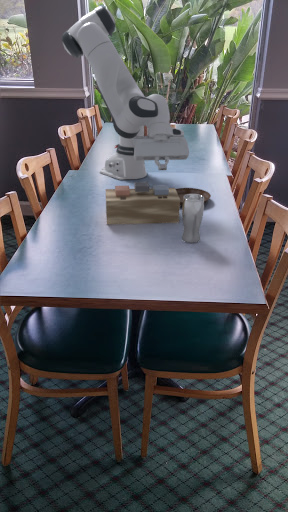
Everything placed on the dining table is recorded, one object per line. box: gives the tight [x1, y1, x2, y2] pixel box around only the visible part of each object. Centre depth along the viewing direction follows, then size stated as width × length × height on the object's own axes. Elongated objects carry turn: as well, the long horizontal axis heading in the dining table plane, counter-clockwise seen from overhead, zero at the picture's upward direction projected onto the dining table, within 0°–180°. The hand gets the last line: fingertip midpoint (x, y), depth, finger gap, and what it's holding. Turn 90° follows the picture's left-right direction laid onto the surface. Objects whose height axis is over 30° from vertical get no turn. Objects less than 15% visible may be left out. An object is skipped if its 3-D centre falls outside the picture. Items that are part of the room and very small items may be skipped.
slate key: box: [152, 184, 169, 195], centre depth 166 cm, size 5×5×2 cm
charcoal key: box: [133, 181, 150, 192], centre depth 165 cm, size 5×5×2 cm
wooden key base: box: [105, 187, 181, 226], centre depth 167 cm, size 12×26×9 cm, turn 95°
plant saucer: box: [175, 187, 212, 207], centre depth 184 cm, size 18×18×3 cm
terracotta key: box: [114, 185, 131, 196], centre depth 165 cm, size 5×5×2 cm
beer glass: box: [181, 194, 205, 244], centre depth 150 cm, size 7×7×15 cm
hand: (162, 169), depth 166 cm, fingers closed
